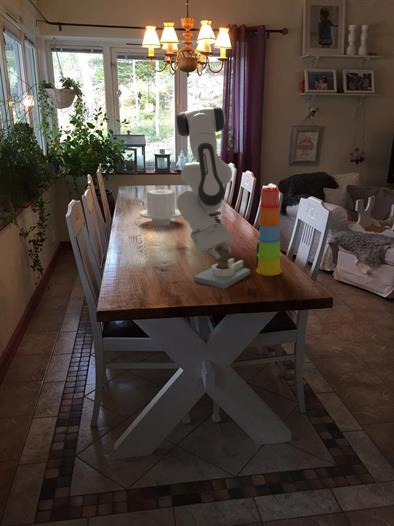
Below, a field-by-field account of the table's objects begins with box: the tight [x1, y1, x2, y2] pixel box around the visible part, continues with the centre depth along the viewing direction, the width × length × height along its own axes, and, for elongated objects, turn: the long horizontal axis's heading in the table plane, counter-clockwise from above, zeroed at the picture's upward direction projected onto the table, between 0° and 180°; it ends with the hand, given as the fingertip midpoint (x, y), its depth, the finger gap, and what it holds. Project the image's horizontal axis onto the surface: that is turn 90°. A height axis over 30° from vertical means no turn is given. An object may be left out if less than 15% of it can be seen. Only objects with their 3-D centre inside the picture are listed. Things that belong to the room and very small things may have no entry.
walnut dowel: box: [217, 246, 230, 269], centre depth 173 cm, size 4×4×10 cm
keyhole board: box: [193, 257, 251, 290], centre depth 175 cm, size 22×14×4 cm, turn 145°
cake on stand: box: [139, 189, 183, 227], centre depth 256 cm, size 25×25×19 cm
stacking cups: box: [256, 187, 282, 277], centre depth 176 cm, size 10×10×35 cm
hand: (224, 255), depth 172 cm, fingers open, 6 cm apart
